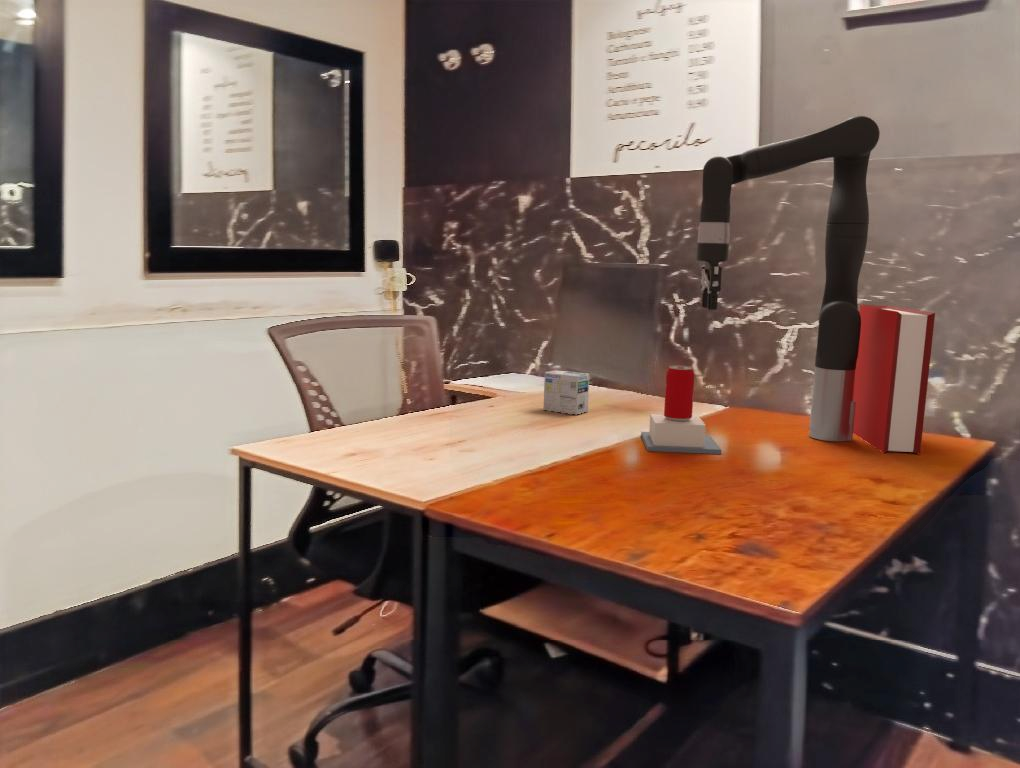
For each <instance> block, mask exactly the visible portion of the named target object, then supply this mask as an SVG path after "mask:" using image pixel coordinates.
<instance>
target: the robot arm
mask: <svg viewBox="0 0 1020 768" xmlns="http://www.w3.org/2000/svg"><path fill="white" fill-rule="evenodd" d="M880 134H881V133H880V128H879V126H878V124H877V122H875V120H874V119H872V118H871V117H868V116H864V115H855V116H851V117H849V118H847V119H845V120H844V121H841V122H839V123H836V124H835V125H833V126H829V127H828V128H825V129H822V130H819V131H816V132H813V133H810V134H806V135H803V136H799V137H794V138H790V139H786V140H782V141H778V142H773V143H768V144H765V145H759V146H757V147H753V148H752V147H751V148H749V149H747V150H745V151H743V152H742V153H738V154H734V155H730V156H726V157H725V156H722V155H717V156H712V157H711V158H708V160H707V161H706V162H705V164H704V166H703V167H702V168H703V169H702V201H701V205H700V213H699V214H700V215H699V227H698V230H697V231H698V233H697V244H696V245H697V247H696V257H695V258H696V261H698V262H704V265H702V267H701V277H700V279H701V280H700V286H699V287H700V290H701V294H702V295H701V308H705V309H707V310H711V311H714V310H715V311H716V310H717V309H718V298H719V297H718V296H719V293H720V292H721V291H722V290H721V289H722V288H721V287H722V284H721V283H722V273H723V272H722V270H723V267H722V266H720V264H719V263H726V262H728V261H729V253H730V252H729V251H730V235H731V233H730V232H731V230H730V221H731V193H732V187H733V186H734V185H736V184H740V183H741V182H745V181H747V180H753V179H759V178H763V177H767V176H772V175H775V174H779V173H782V172H785V171H788V170H791V169H795V168H798V167H801V166H802V165H806V164H810V163H813V162H816V161H820V160H825V159H831V158H832V159H833V178H832V187H831V194H830V197H829V204H828V211H827V217H826V218H827V219H826V226H825V227H826V228H825V244H824V245H825V246H824V247H825V248H824V251H825V252H824V261H825V262H824V263H825V265H824V267H825V283H824V285H825V286H824V291H823V296H822V302H821V307H820V310H819V311H820V312H819V314H818V331H817V332H818V333H817V343H816V353H815V359H814V361H815V362H814V371H813V372H814V373H813V385H812V396H811V397H812V398H811V406H810V407H811V408H810V419H809V420H810V421H809V428H808V430H809V431H808V436H809V437H810V438H812V439H816V440H820V441H827V442H846V441H847V442H848V441H849V442H852V441H853V437H854V436H853V435H854V434H853V426H854V415H855V405H856V403H855V401H853V393H854V383H855V382H854V381H855V372H856V363H857V358H858V350H859V341H860V332H861V316H860V313H859V307H858V305H859V304H858V285H859V278H860V274H861V269H862V266H863V262H864V259H865V254H866V249H867V242H868V236H869V235H868V234H869V224H870V223H869V222H870V212H869V211H870V209H869V198H868V190H867V173H868V170H869V169H868V167H869V161H870V157H871V152H872V151H873V150H874V149H875V147H876V146H877V145H878V142H879V140H880Z"/></svg>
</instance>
